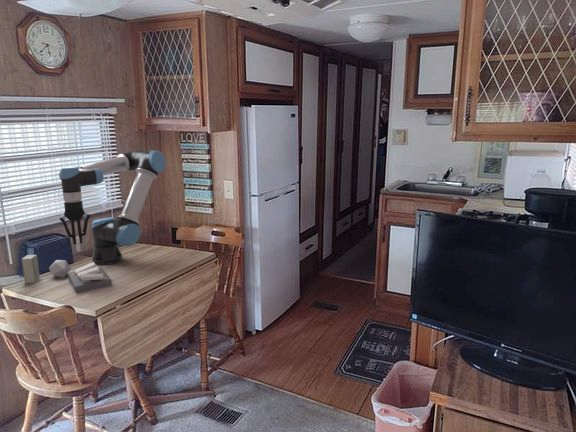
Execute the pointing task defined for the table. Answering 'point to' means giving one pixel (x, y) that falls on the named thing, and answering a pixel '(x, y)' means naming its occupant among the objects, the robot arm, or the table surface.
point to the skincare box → (30, 268)
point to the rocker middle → (89, 271)
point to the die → (59, 268)
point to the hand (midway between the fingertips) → (78, 250)
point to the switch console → (89, 282)
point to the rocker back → (85, 267)
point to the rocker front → (91, 276)
